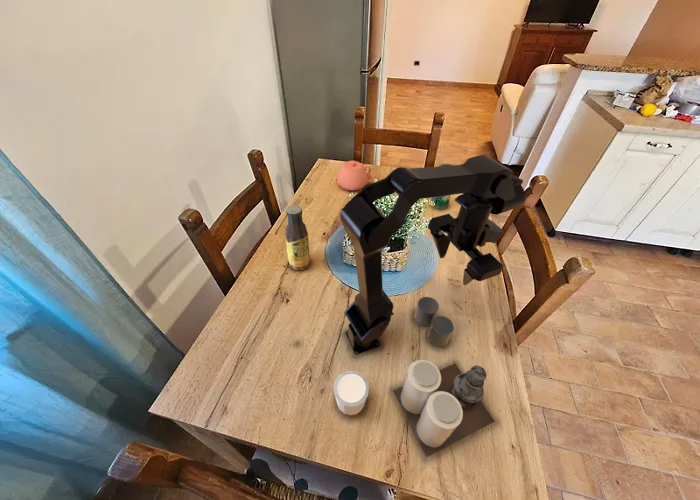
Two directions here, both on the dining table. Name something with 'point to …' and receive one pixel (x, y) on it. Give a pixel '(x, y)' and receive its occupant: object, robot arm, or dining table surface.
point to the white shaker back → (419, 385)
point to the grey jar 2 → (440, 331)
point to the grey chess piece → (469, 386)
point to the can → (441, 198)
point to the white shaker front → (439, 419)
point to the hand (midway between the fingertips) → (453, 270)
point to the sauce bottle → (297, 239)
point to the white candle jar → (351, 392)
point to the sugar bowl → (353, 175)
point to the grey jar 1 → (426, 311)
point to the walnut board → (472, 416)
